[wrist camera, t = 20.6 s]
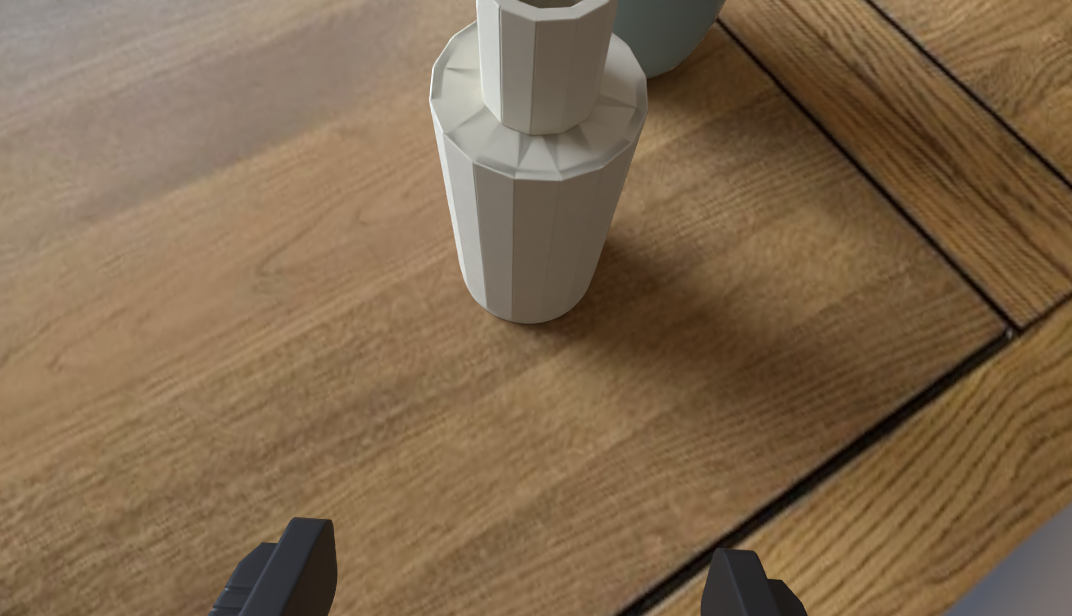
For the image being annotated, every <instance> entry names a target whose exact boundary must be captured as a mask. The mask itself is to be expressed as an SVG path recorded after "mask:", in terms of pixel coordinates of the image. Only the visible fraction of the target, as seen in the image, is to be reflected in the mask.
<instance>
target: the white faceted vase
mask: <svg viewBox="0 0 1072 616" xmlns="http://www.w3.org/2000/svg"><path fill="white" fill-rule="evenodd" d="M617 5H618V0H476V6H477V20H476V21H475V22H473V23H472V24H470V25H469V26H467V27H466V28H464V29H463V30H461V31H460V32H458V33H457V34H455V35H454V36H453V37H452V38H451V39H450V41H449V42H448V44H447V45H446V47H445V49H444V50H443V52H442V53H441V55H440V56H439V58H438V59H437V61H436V62H435V64H434V66H433V70H432V79H431V88H430V98H429V101H430V107H431V112H432V118H433V123H434V128H435V134H436V139H437V145H438V150H439V155H440V161H441V166H442V171H443V177H444V182H445V188H446V193H447V198H448V204H449V209H450V214H451V220H452V225H453V231H454V236H455V241H456V247H457V252H458V258H459V263H460V268H461V271H462V273H463V277H464V280H465V283H466V286H467V288H468V290H469V291H470V293H471V295H472V296H473V297H474V299H475V300H476V301H477V302H478V303H479V304H480V305H481V306H482V307H483V308H484V309H486V310H487V311H489V312H490V313H491V314H493V315H495V316H497V317H499V318H502V319H504V320H507V321H511V322H515V323H524V324H534V323H541V322H546V321H549V320H553V319H555V318H557V317H560V316H561V315H563V314H565V313H567V312H568V311H569V310H571V309H572V308H573V307H574V306H575V305H576V304H577V303H578V302H579V301H580V300H581V299H582V297H583V296H584V294H585V293H586V291H587V289H588V287H589V284H590V282H591V279H592V277H593V275H594V272H595V269H596V266H597V263H598V260H599V257H600V254H601V251H602V248H603V245H604V242H605V239H606V236H607V233H608V230H609V227H610V224H611V221H612V218H613V215H614V212H615V209H616V206H617V203H618V200H619V197H620V194H621V191H622V188H623V185H624V182H625V179H626V176H627V173H628V170H629V167H630V164H631V161H632V158H633V155H634V152H635V149H636V146H637V143H638V140H639V137H640V134H641V131H642V128H643V125H644V122H645V119H646V116H647V113H648V100H647V83H646V77H645V74H644V72H643V70H642V68H641V67H640V65H639V63H638V61H637V59H636V58H635V56H634V54H633V52H632V51H631V49H630V47H629V46H628V45H627V44H626V43H625V42H624V41H623V40H621V39H620V38H619V37H618V36H616V35H615V34H614V33H613V32H612V29H613V24H614V19H615V14H616V9H617Z"/></svg>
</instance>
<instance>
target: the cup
mask: <svg viewBox="0 0 1072 616" xmlns="http://www.w3.org/2000/svg"><path fill="white" fill-rule="evenodd" d="M725 1H726V0H618V5H617V9H616V14H615V19H614V24H613V29H612V32H613V33H614V34H615V35H616V36H618V37H619V38H620V39H621V40H623V41H624V42H625V43H626V44H627V45H628V46H629V47H630V49H631V51H632V52H633V54H634V56H635V58H636V59H637V61H638V63H639V65H640V67H641V68H642V70H643V72H644V74H645V77H646V79H649V78H654V77H657V76H659V75H662V74H665V73H667V72H668V71H670V70H671V69H673V68H674V67H676V66H678V65H679V64H681V63H682V62H684V61H685V59H686V58H687V57H688V56H689V55H690V54H691V53H692V52H693V51H694V50H695V49H696V48H697V47H698V46H699V44H700V43H701V42H702V40H703V39H704V38H705V36H706V35H707V33H708V32H709V30H710V28H711V27H712V25H713V23H714V22H715V20H716V18H717V17H718V15H719V13H720V11H721V9H722V7H723V5H724V3H725Z"/></svg>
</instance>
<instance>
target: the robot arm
mask: <svg viewBox="0 0 1072 616" xmlns="http://www.w3.org/2000/svg"><path fill="white" fill-rule="evenodd" d="M336 585H337V561H336V550H335V539H334V528H333V522H332V520H328V519H314V518H300V517H294V518H293V519H292V520H291V521H290V522H289V524H288V526H287V527H286V529H285V531H284V533H283V535H282V537H281V538H280V540H279V542H278V543H265V542H262V543H261V544H260V545H259V546H257V547H256V548H255V549H254V550H253V551H252V552H251V553H250V554H248V555H247V556H246V557H245V558H244V559H243V560H242V561H240V562H239V564H238V566H237V567H236V569H235V571H234V572H233V574H232V576H231V577H230V579H229V581H228V582H227V584H226V586H225V590H224V591H222V592H221V594H220V596H219V597H218V599H217V601H216V602H215V604H214V606H213V610H212V611H210V612H209V614H208V616H328V613H329V610H330V608H331V605H332V602H333V599H334V595H335V591H336ZM701 616H808V615H807V613H806V611H805V609H804V606H803V604H802V602H801V601H800V600H799V599H798V598H797V597H796V596H795V594H794V593H793V592H792V591H791V590H790V589H789V588H788V587H787V585H786V584H785V583H784V582H783V581H782V580H776V579H767V576H766V574H765V571H764V569H763V567H762V564H761V562H760V559H759V557H758V555H757V554H756V553H755V552H754V551H751V550H737V549H723V548H717V549H716V550H715V552H714V554H713V558H712V562H711V565H710V569H709V573H708V577H707V580H706V584H705V588H704V591H703V595H702V600H701Z"/></svg>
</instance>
